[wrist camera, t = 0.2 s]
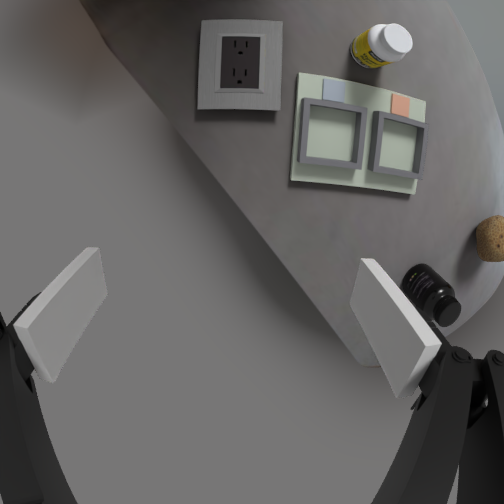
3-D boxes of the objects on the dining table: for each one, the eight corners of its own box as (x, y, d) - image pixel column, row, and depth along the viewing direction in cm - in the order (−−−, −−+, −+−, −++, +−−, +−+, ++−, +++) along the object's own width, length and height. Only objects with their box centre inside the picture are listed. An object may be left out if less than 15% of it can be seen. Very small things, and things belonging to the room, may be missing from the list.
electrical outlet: (278, 111, 36) (280, 110, 33) (199, 110, 35) (197, 109, 33) (280, 26, 30) (282, 20, 28) (203, 25, 30) (201, 19, 28)
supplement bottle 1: (347, 63, 32) (377, 48, 23) (350, 32, 30) (379, 11, 21) (381, 74, 33) (416, 64, 24) (384, 43, 30) (418, 28, 22)
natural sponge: (494, 202, 41) (527, 219, 32) (492, 242, 45) (522, 262, 35) (465, 213, 42) (500, 233, 33) (464, 255, 45) (495, 279, 36)
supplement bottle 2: (436, 272, 47) (471, 306, 36) (415, 299, 49) (445, 338, 38) (418, 255, 45) (455, 290, 34) (394, 285, 47) (426, 325, 36)
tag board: (297, 74, 33) (302, 69, 30) (421, 101, 34) (432, 101, 31) (289, 178, 39) (293, 183, 36) (411, 192, 40) (421, 197, 37)
